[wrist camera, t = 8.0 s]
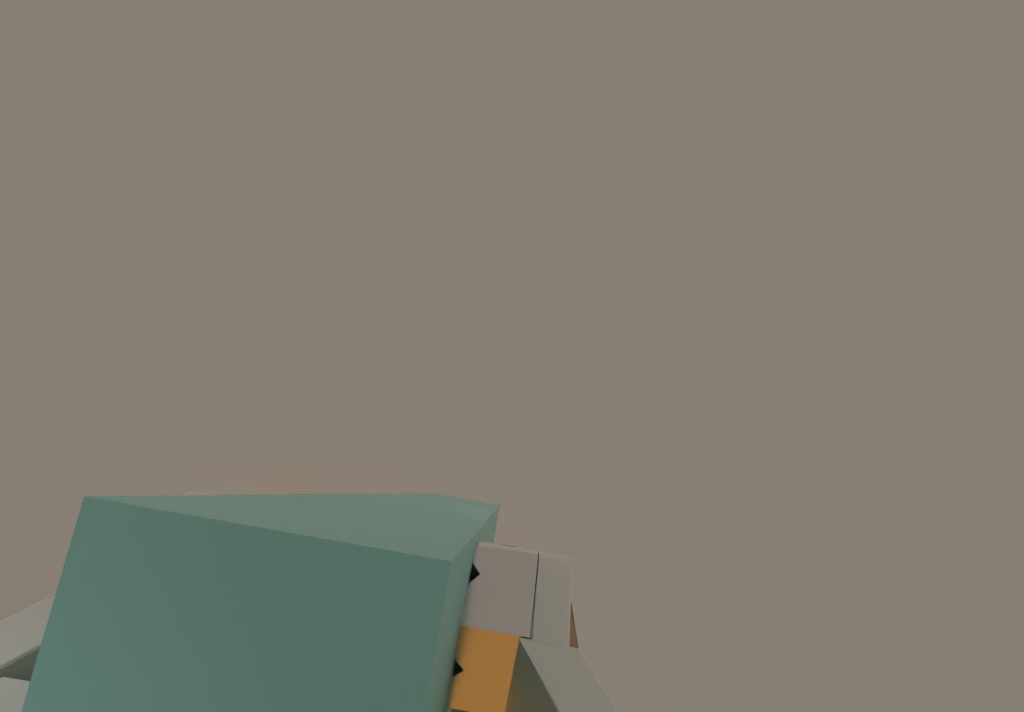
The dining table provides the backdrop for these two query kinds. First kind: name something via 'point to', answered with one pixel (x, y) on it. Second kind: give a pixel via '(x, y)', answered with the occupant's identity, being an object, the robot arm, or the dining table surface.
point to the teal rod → (260, 604)
